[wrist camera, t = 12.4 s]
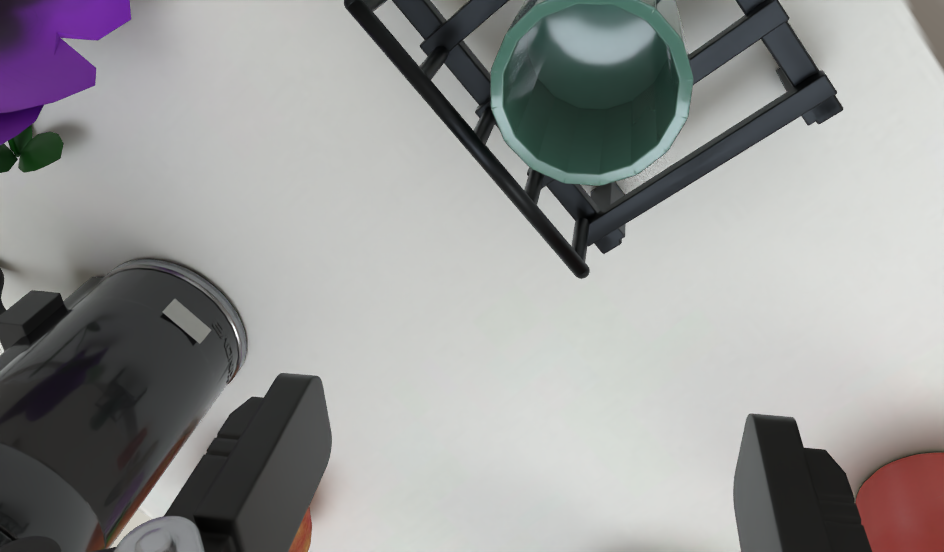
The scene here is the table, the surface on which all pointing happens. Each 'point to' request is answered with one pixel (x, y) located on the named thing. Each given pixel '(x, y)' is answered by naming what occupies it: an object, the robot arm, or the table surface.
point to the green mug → (592, 86)
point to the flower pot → (905, 505)
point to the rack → (608, 204)
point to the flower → (45, 68)
